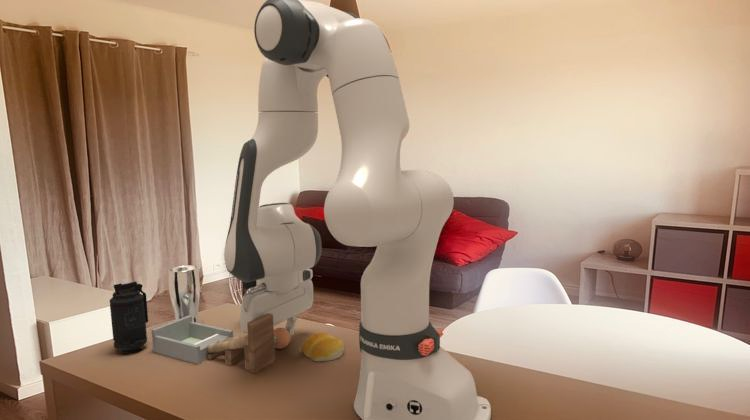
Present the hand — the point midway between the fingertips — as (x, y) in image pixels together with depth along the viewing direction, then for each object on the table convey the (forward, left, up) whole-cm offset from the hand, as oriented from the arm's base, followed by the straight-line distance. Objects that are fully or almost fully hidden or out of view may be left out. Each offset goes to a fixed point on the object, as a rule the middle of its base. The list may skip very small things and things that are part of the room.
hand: (280, 340), depth 107 cm
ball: (0, 0, 0) cm, 0 cm away
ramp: (+4, +9, -2) cm, 10 cm away
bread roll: (-10, -2, -2) cm, 10 cm away
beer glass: (+28, +1, -2) cm, 28 cm away
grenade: (+29, +15, -2) cm, 33 cm away
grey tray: (+17, +9, -2) cm, 19 cm away
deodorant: (+14, -8, -2) cm, 16 cm away
